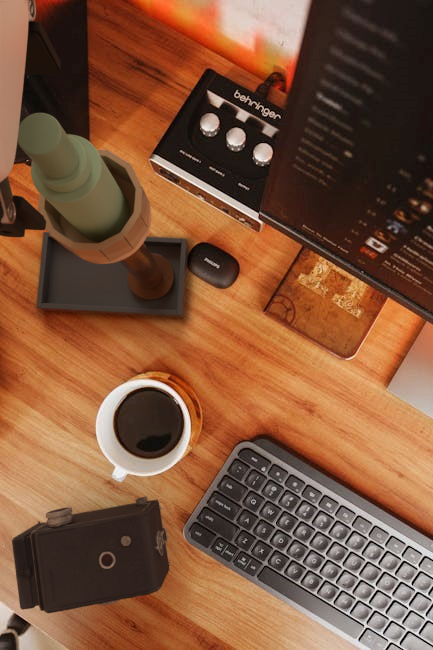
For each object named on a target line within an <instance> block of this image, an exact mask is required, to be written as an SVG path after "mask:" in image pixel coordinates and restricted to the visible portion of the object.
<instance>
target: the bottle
mask: <svg viewBox="0 0 433 650" xmlns="http://www.w3.org/2000/svg"><path fill="white" fill-rule="evenodd" d="M17 144H18V145H19V147H20V148H21V150H22V151H23V152H24V153H25V154H26V155H27V156H28V157H29V159H31V164H30V176H31V180H32V183H33V185H34V187H35V189H36V190H37V192H38V194H39V193H40V194H41V195H42V196H43V197H44V198H45V199H46V200H47V201H48V202H49V203H50V204H52V205H53V206H54V207H55V208H56V209H57V210H58V211H59V212H60V213H61V214H62V215H63V216H64V217H65V218H66V219H67V220H68V221H69V222H70V223H71V224H72V225H73V226H74V227H75V228H76V229H77V230H78V231H79V232H80V233H81V234H82V235H83V236H84V237H86V238H88V239H90V240H92V241H97V242H102V241H104V240H106V239H108V238H110V237H112V236H114V235H116V234H118V233H120V232H121V231H122V229H123V228H124V226H125V225H126V223H127V222H128V220H129V218H130V208H129V204H128V202H127V200H126V198H125V196H124V195H123V193H122V191H121V190H120V188H119V186H118V185H117V183H116V181H115V180H114V178H113V176H112V175H111V173H110V171H109V170H108V168H107V166H106V165H105V163H104V161H103V159H102V158H101V156H100V154H99V153H98V151H97V148H96V147H95V145H94V144H93V143H91V141H89V140H88V139H86V138H84V137H83V136H80V135H76V134H70V133H69V134H68V133H66V131H65V129H64V128H63V126H62V125H61V123H60V122H59V121H58V120H57V118H55V116H53V115H51V114H49V113H45V112H35V113H31V114H30V115H27V116H26V117H25V118H24V119H23V120H22V121H20V123H19V131H18V139H17Z"/></svg>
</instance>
